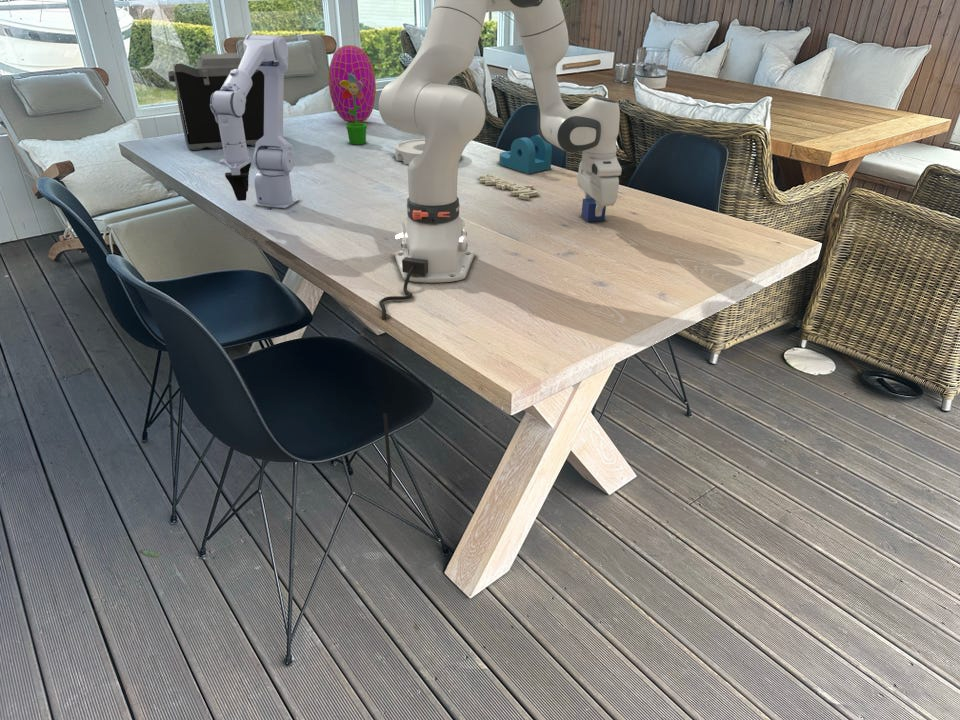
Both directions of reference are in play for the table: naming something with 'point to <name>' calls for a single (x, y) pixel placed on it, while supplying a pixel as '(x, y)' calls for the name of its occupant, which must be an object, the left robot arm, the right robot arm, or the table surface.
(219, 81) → the electronic device
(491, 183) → the decorative sign
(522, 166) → the teal clevis bracket
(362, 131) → the potted flower
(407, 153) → the ashtray
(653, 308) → the table surface
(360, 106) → the decorative egg
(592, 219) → the block
